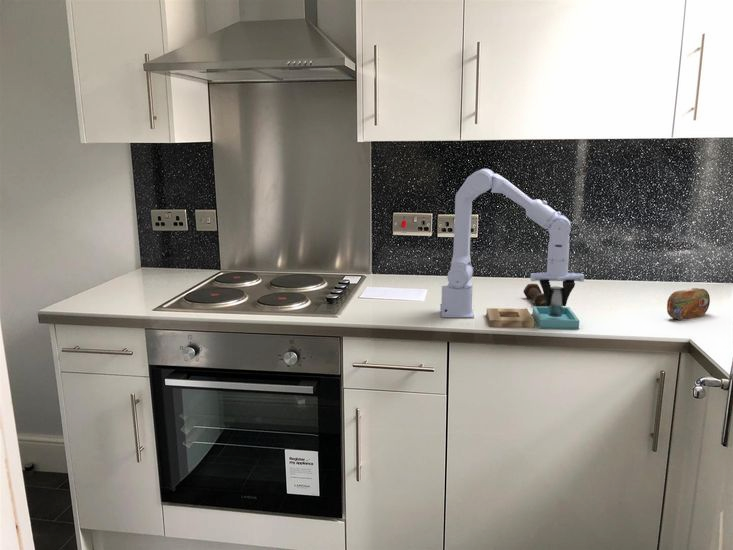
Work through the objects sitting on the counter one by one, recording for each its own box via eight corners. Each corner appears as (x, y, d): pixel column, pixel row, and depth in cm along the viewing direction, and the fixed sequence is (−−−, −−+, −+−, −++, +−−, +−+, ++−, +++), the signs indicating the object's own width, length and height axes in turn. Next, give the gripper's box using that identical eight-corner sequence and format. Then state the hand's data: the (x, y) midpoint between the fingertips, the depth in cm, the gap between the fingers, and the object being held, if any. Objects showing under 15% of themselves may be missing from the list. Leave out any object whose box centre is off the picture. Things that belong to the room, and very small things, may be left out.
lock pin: (549, 316, 178) (550, 289, 176) (546, 312, 182) (548, 286, 180) (563, 317, 178) (565, 289, 176) (560, 313, 181) (562, 286, 180)
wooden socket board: (489, 326, 176) (490, 320, 176) (486, 314, 188) (486, 308, 188) (533, 327, 175) (533, 320, 175) (527, 315, 187) (527, 308, 186)
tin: (672, 322, 178) (675, 293, 176) (663, 319, 181) (666, 291, 179) (709, 315, 184) (712, 287, 182) (700, 312, 187) (703, 285, 185)
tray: (539, 328, 174) (540, 320, 174) (532, 314, 187) (532, 306, 187) (578, 329, 173) (579, 320, 172) (568, 315, 186) (569, 306, 186)
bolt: (541, 316, 192) (528, 302, 206) (556, 308, 191) (542, 294, 206) (533, 301, 190) (520, 287, 205) (548, 293, 190) (534, 280, 204)
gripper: (534, 261, 173) (531, 308, 176) (587, 262, 171) (584, 309, 174) (530, 256, 180) (528, 302, 183) (581, 257, 178) (579, 302, 181)
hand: (555, 305), depth 179 cm, fingers closed on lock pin, 4 cm apart
